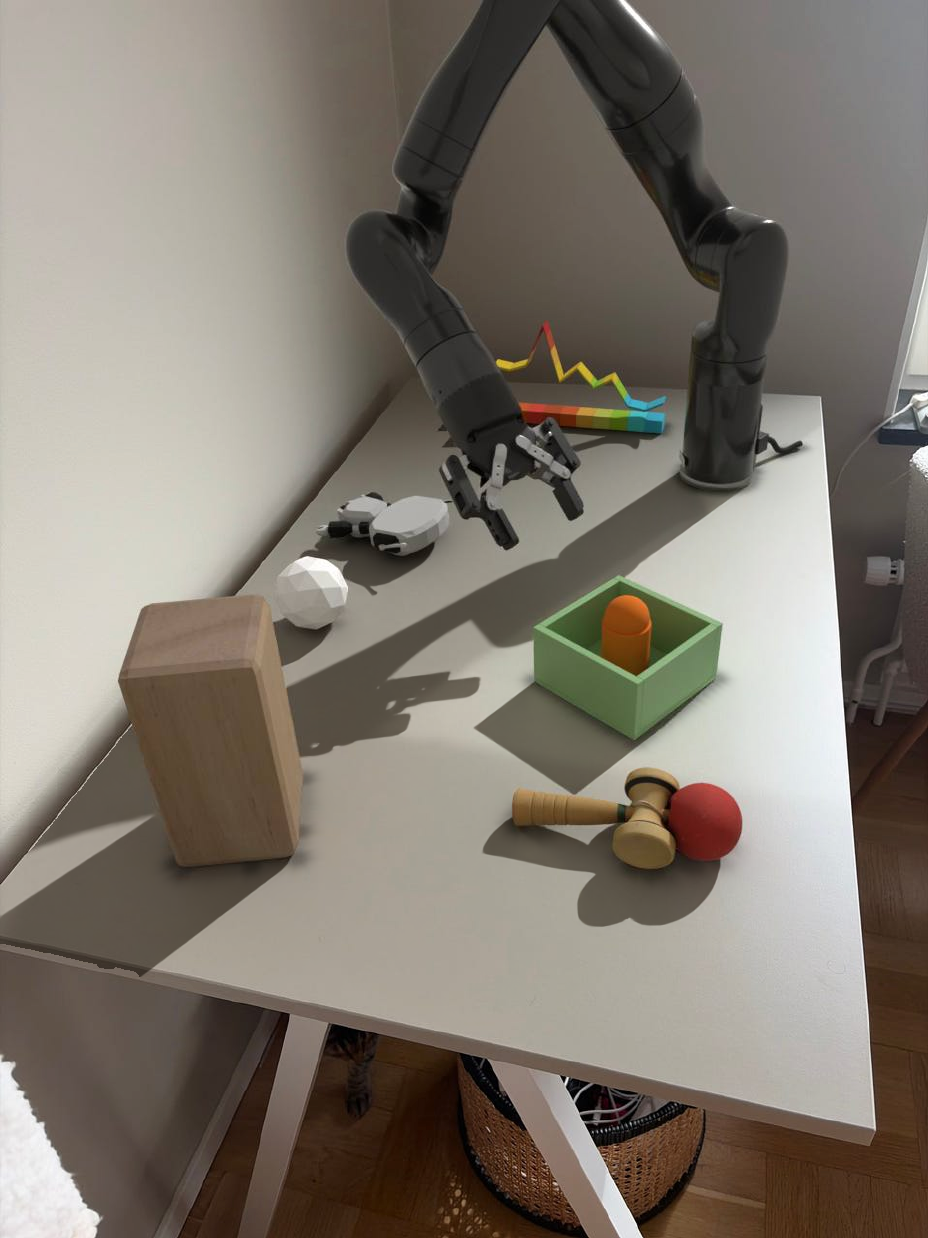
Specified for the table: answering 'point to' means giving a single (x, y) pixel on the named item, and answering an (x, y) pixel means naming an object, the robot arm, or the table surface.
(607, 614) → the orange peg figure
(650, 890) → the table surface
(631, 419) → the chart
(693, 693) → the bin
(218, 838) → the block
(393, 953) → the table surface
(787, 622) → the table surface
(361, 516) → the robot toy
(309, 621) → the geometric ball
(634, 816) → the kendama
